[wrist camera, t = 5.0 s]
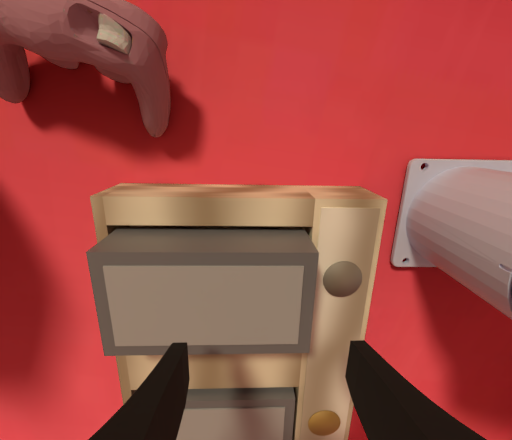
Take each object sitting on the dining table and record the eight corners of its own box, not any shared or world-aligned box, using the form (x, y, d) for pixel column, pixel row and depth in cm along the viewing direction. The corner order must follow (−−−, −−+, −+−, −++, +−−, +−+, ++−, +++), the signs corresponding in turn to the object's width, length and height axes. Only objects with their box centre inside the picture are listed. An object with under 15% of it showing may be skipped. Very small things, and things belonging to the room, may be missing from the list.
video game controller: (185, 83, 19) (168, -20, 12) (168, 146, 18) (139, 74, 11) (29, 42, 18) (-88, -97, 11) (4, 106, 17) (-139, 1, 10)
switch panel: (359, 186, 20) (389, 200, 16) (329, 418, 26) (344, 469, 22) (120, 183, 19) (87, 197, 15) (150, 422, 26) (133, 476, 22)
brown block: (287, 359, 23) (295, 400, 19) (284, 414, 25) (290, 460, 21) (149, 361, 22) (132, 403, 19) (156, 417, 24) (141, 465, 21)
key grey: (304, 228, 17) (319, 253, 14) (297, 313, 19) (309, 354, 15) (118, 227, 16) (85, 252, 13) (129, 314, 18) (103, 357, 15)
